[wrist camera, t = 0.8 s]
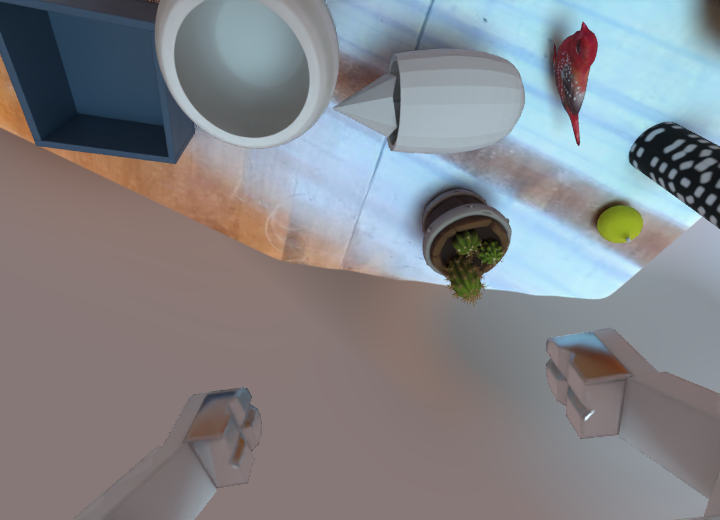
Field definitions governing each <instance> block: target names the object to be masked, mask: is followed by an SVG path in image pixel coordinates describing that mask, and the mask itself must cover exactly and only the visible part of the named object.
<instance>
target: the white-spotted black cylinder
mask: <svg viewBox="0 0 720 520" xmlns="http://www.w3.org/2000/svg"><path fill="white" fill-rule="evenodd" d="M629 160H630V163H631V164H632V165H633V166H634V167H635V168H637V169H638V170H639V171H641V172H642V173H644V174H645V175H646V176H648V177H649V178H650V179H652V180H653V181H655V182H656V183H657V184H659V185H660V186H661V187H663V188H664V189H666V190H667V191H668V192H670V193H671V194H672V195H674V196H675V197H677V198H678V199H679V200H681V201H682V202H683V203H685V204H686V205H688V206H689V207H690V208H692V209H693V210H694V211H696V212H697V213H699V214H700V215H701V216H703V217H704V218H705V219H707V220H708V221H710V222H711V223H712V224H714V225H715V226H716V227H718V228H719V229H720V146H718V145H716V144H714V143H712V142H710V141H708V140H706V139H705V138H703V137H701V136H699V135H697V134H695V133H693V132H691V131H689V130H687V129H685V128H684V127H682V126H680V125H678V124H676V123H673V122H665V123H661V124H658V125H656V126H653V127H652V128H650V129H648V130H647V131H646V132H644V133H643V134H642V135H641V136H640V137H639V138H638V139H637V140H636V142H635V143H634V145H633V146H632V148H631V150H630V154H629Z"/></svg>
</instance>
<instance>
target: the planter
mask: <svg viewBox="0 0 720 520" xmlns="http://www.w3.org/2000/svg"><path fill="white" fill-rule="evenodd" d="M155 46H156V53H157V58H158V63H159V66H160V70H161V73H162V75H163V78H164V80H165V83H166V85H167V87H168V89H169V91H170V93H171V94H172V96H173V98H174V99H175V101H176V102H177V104H178V105H179V106H180V108H181V109H182V110H183V111H184V113H185V114H186V115H187V116H188V117H189V118H190V119H191V120H192V121H193V122H194V123H195V124H196V125H198V126H199V127H200V128H201V129H203V130H204V131H206V132H207V133H209V134H210V135H212V136H214V137H215V138H217V139H219V140H221V141H224V142H226V143H229V144H232V145H235V146H239V147H244V148H253V149H262V148H271V147H276V146H280V145H283V144H286V143H288V142H290V141H292V140H294V139H296V138H298V137H300V136H301V135H302V134H304V133H305V132H306V131H308V130H309V129H310V128H311V127H312V126H313V125H314V124H315V123H316V122H317V121H318V119H319V118H320V117H321V115H322V114H323V113H324V111H325V109H326V108H327V106H328V104H329V102H330V100H331V97H332V95H333V92H334V89H335V86H336V82H337V77H338V70H339V45H338V38H337V32H336V28H335V25H334V22H333V19H332V16H331V13H330V11H329V8H328V6H327V4H326V2H325V0H160V2H159V5H158V9H157V14H156V22H155Z"/></svg>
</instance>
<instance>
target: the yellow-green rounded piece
mask: <svg viewBox="0 0 720 520" xmlns="http://www.w3.org/2000/svg"><path fill="white" fill-rule="evenodd" d="M642 227H643V219H642V217H641V215H640V213H639V212H638V211H637V210H635V209H634V208H632V207H629V206H624V205H619V206H614V207H611V208H609V209H607V210H605V211H604V212H603V213H602V214H601V215H600V217H599V219H598V222H597V228H598V232H599V233H600V235H601V236H602V237H603V238H604V239H606V240H608V241H610V242H614V243H623V242H630V241H631V240H632V239H634V238H635V237H637V236H638V235H639V233H640V232H641V230H642Z"/></svg>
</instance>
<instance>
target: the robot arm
mask: <svg viewBox="0 0 720 520" xmlns="http://www.w3.org/2000/svg"><path fill="white" fill-rule="evenodd" d="M546 351H547V353H548V354H549V356H550V357H551V358H550V360H549V361H548V362H547V363H546V375H547V379H548V383H549V386H550V388H551V391H552V393H553V395H554V396H555V398H556V400H557V401H558V402H560V403H562V404H563V405H565V406H566V416H567V418H568V419H569V421H570V423H571V424H572V426H573V427H574V429H575V431H576V432H577V434H578V436H579V437H580V439H584V438H594V437H603V436H613V435H619V437H620V438H621V439H623V440H624V441H626V442H627V443H628V444H630V445H631V446H633V447H635V448H636V449H637V450H639V451H640V452H641V453H643V454H644V455H646V456H647V457H649V458H650V459H652V460H653V461H654V462H656V463H657V464H659V465H660V466H662V467H663V468H664V469H666V470H667V471H669V472H670V473H672V474H673V475H675V476H676V477H677V478H679V479H680V480H682V481H683V482H685V483H686V484H688V485H689V486H690V487H692V488H693V489H695V490H696V491H698V492H699V493H701V494H702V495H703V496H705V497H706V498H708V499H709V502H708V505H707V508H706V511H705V514H704V517H697V518H687V519H678V520H720V394H719V393H717V392H714V391H712V390H709V389H707V388H704V387H702V386H699V385H697V384H695V383H692V382H690V381H687V380H685V379H682V378H680V377H677V376H675V375H673V374H670V373H668V372H661V373H659V372H658V371H657V370H656V369H655V368H654V367H653V366H652V365H651V364H650V363H649V362H648V361H646V359H645V358H643V357H642V356H641V355H640V354H639V353H638V352H637V351H636V350H635V349H634V348H633V347H632V346H631V345H630V344H629V343H628V342H627V341H626V340H625V339H624V338H623V337H622V336H621V335H620V334H619V333H618V332H617V331H616V330H614V329H612V328H605V329H599V330H594V331H589V332H584V333H578V334H572V335H566V336H560V337H554V338H548V340H547V343H546ZM251 398H252V396H251V394H250V392H249V390H248V389H247V388H244V387H242V388H236V389H228V390H220V391H213V392H209V393H201V394H194V395H192V396H191V397H190V398H189V399H188V401H187V402H186V404H185V406H184V408H183V410H182V412H181V413H180V415H179V417H178V419H177V421H176V423H175V424H174V426H173V428H172V430H171V432H170V433H169V435H168V437H167V439H166V441H165V442H164V444H163V446H158V447H156V448H155V449H154V450H153V451H152V452H150V453H149V454H148V455H147V456H146V457H145V458H143V459H142V460H141V461H140V462H139V463H137V465H135V466H134V467H133V468H132V469H130V470H129V471H128V472H127V473H126V474H125V475H124V476H122V477H121V478H120V479H119V480H118V481H116V482H115V483H114V484H113V485H112V486H111V487H109V488H108V489H107V490H106V491H105V492H104V493H102V494H101V495H100V496H99V497H98V498H97V499H95V500H94V501H93V502H92V503H91V504H90V505H88V506H87V507H86V508H85V509H84V510H82V511H81V512H80V513H79V514H78V515H77V516H75V517H74V518H73V519H72V520H194V519H195V518H196V517H197V516H198V514H199V513H200V512H201V510H202V509H203V508H204V506H205V505H206V504H207V502H208V501H209V500H210V499H211V497H212V496H213V495H214V493H215V492H216V491H217V489H216V488H222V487H228V486H234V485H240V484H245V483H248V481H249V477H250V473H251V470H252V467H253V463H254V460H255V459H254V457H253V455H252V451H253V450H254V449H255V448H256V446H257V445H258V444H259V442H260V438H261V434H262V421H261V416H260V413H259V411H258V409H257V408H256V407H254V406H253V405H251V404H250V401H251Z"/></svg>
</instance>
